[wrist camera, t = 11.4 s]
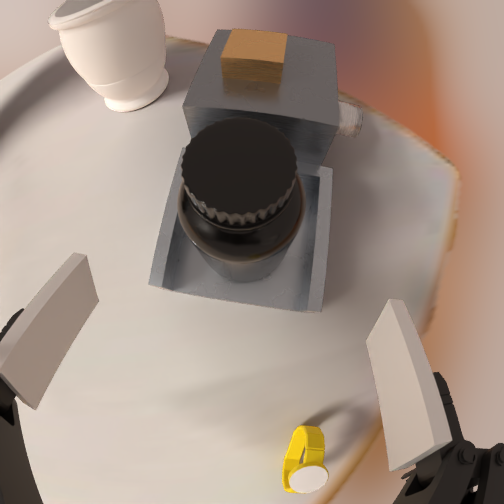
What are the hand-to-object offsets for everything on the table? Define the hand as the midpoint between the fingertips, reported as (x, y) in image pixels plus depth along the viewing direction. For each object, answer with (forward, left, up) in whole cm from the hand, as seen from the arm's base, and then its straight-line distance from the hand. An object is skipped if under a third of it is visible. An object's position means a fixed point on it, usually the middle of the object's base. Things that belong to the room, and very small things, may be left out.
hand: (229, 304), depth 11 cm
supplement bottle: (0, +5, -10) cm, 12 cm away
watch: (+7, -12, -11) cm, 17 cm away
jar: (-16, +22, -11) cm, 30 cm away
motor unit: (+1, +11, -11) cm, 16 cm away
